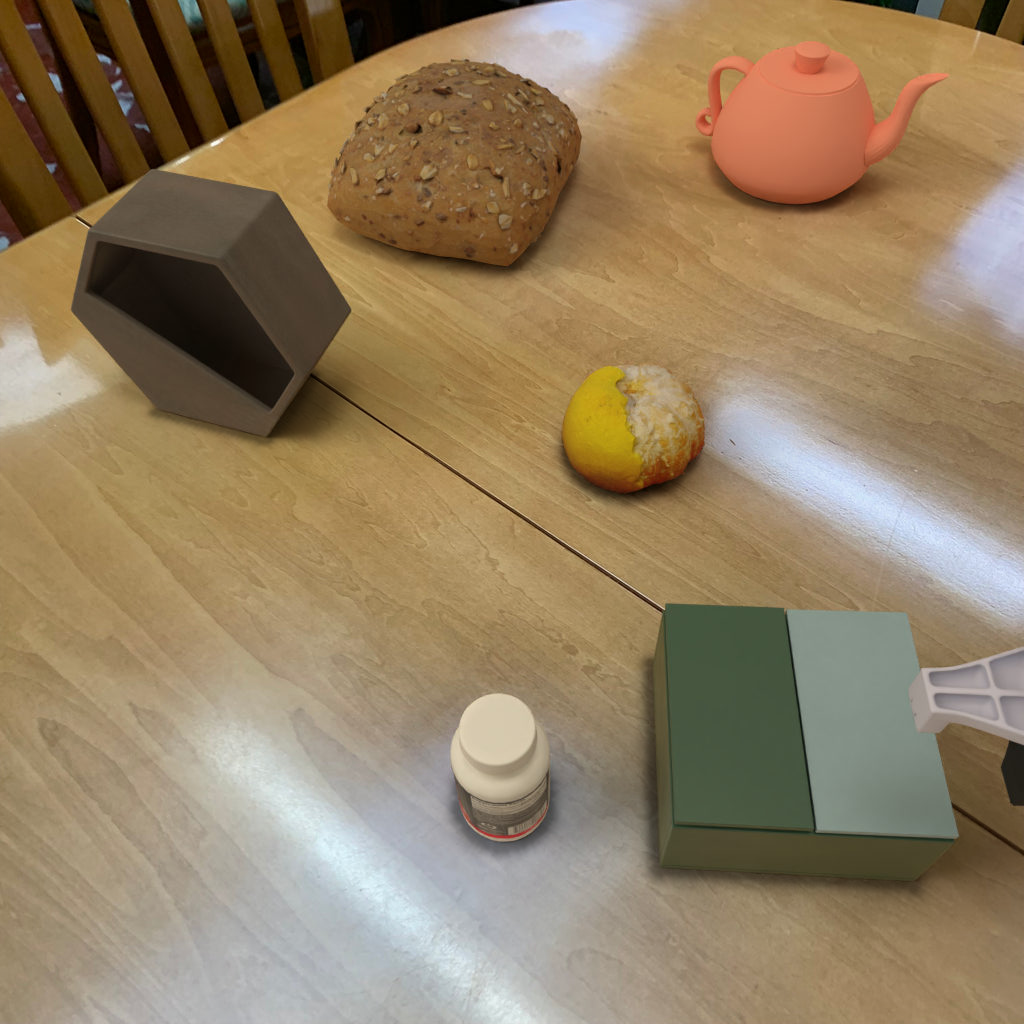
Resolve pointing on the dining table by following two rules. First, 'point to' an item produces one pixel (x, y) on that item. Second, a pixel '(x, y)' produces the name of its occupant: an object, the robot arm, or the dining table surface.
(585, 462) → the fruit
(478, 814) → the pill bottle
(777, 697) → the seed box
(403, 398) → the dining table surface
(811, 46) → the teapot
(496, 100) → the bread
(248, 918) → the dining table surface
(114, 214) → the planter
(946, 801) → the hatch
